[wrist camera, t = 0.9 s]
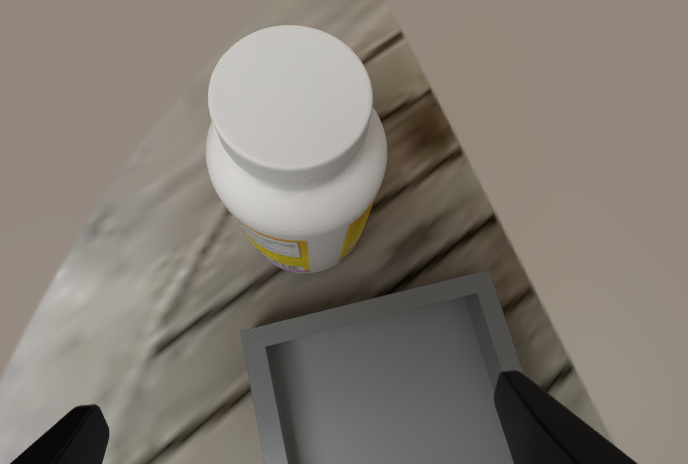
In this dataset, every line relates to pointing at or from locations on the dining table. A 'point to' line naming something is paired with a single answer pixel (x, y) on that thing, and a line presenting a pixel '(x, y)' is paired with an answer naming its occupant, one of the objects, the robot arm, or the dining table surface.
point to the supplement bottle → (295, 145)
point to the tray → (385, 379)
